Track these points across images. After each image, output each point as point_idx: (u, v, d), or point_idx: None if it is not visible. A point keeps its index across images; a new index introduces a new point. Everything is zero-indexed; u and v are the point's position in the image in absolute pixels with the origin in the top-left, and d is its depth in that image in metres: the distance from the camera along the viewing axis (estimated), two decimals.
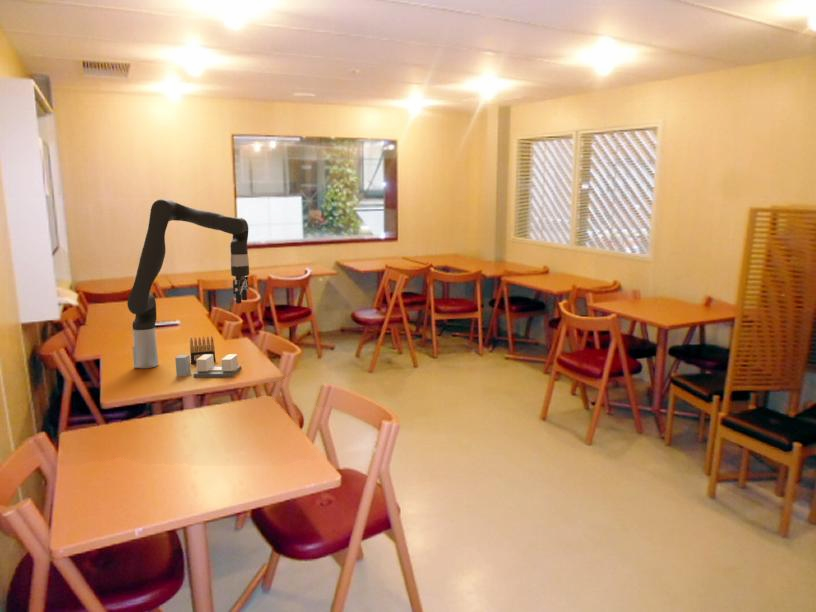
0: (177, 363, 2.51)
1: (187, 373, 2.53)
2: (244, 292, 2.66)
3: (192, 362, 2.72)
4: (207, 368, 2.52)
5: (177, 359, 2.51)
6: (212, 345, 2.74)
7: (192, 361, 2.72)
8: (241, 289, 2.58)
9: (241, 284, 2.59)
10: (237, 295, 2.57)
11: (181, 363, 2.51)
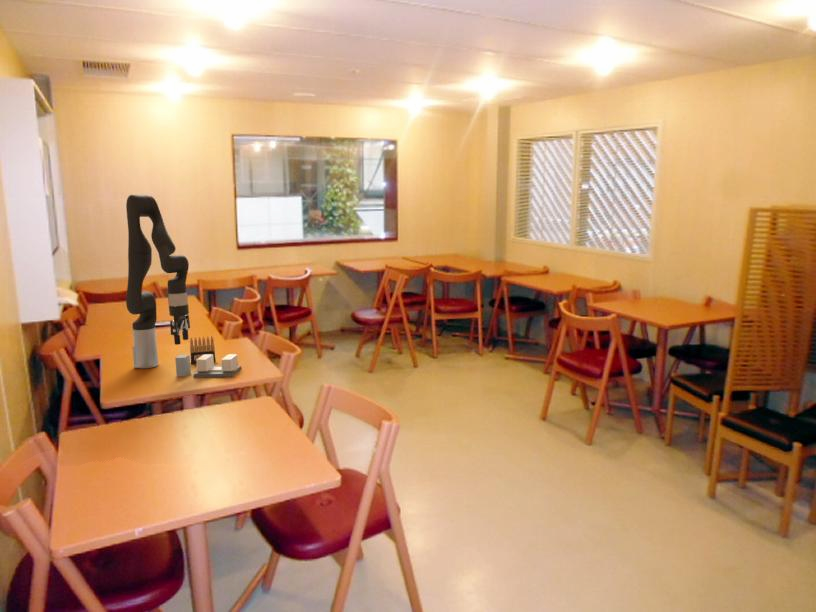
0: (177, 363, 2.51)
1: (187, 373, 2.53)
2: (185, 331, 2.55)
3: (192, 362, 2.72)
4: (207, 368, 2.52)
5: (177, 359, 2.51)
6: (212, 345, 2.74)
7: (192, 361, 2.72)
8: (180, 329, 2.47)
9: (180, 324, 2.48)
10: (175, 336, 2.46)
11: (181, 363, 2.51)
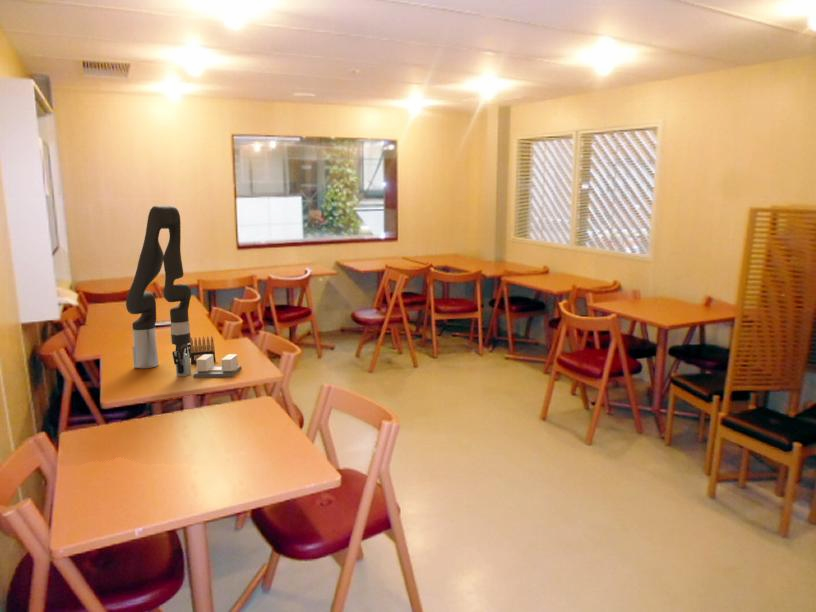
0: None
1: (187, 373, 2.53)
2: None
3: (192, 362, 2.72)
4: (207, 368, 2.52)
5: None
6: (212, 345, 2.74)
7: (192, 361, 2.72)
8: (182, 359, 2.50)
9: (182, 353, 2.50)
10: (179, 365, 2.50)
11: None
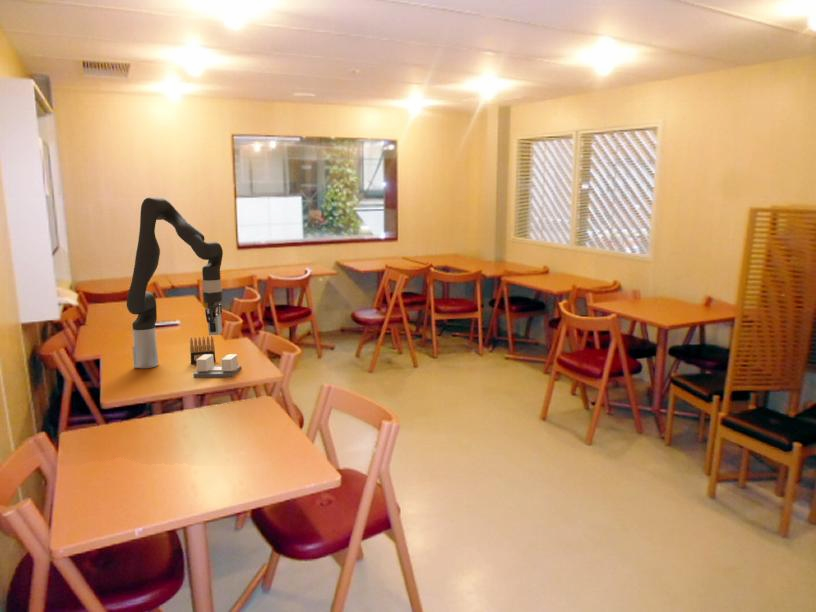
0: None
1: (219, 332, 2.52)
2: None
3: (192, 362, 2.72)
4: (207, 368, 2.52)
5: None
6: (212, 345, 2.74)
7: (192, 361, 2.72)
8: (215, 317, 2.49)
9: (214, 311, 2.49)
10: (211, 324, 2.48)
11: None
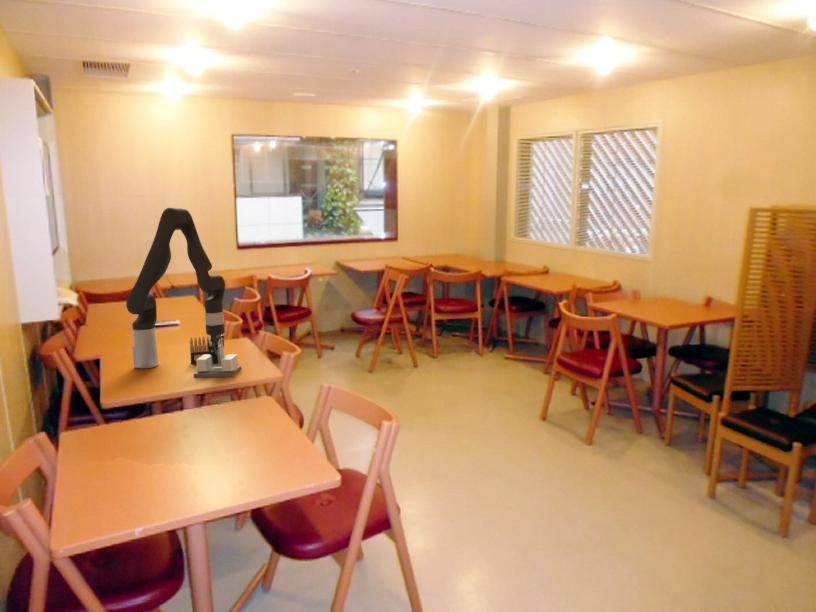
0: None
1: None
2: None
3: (192, 362, 2.72)
4: (207, 368, 2.52)
5: None
6: None
7: (192, 361, 2.72)
8: (217, 349, 2.51)
9: (217, 344, 2.51)
10: (213, 356, 2.51)
11: None
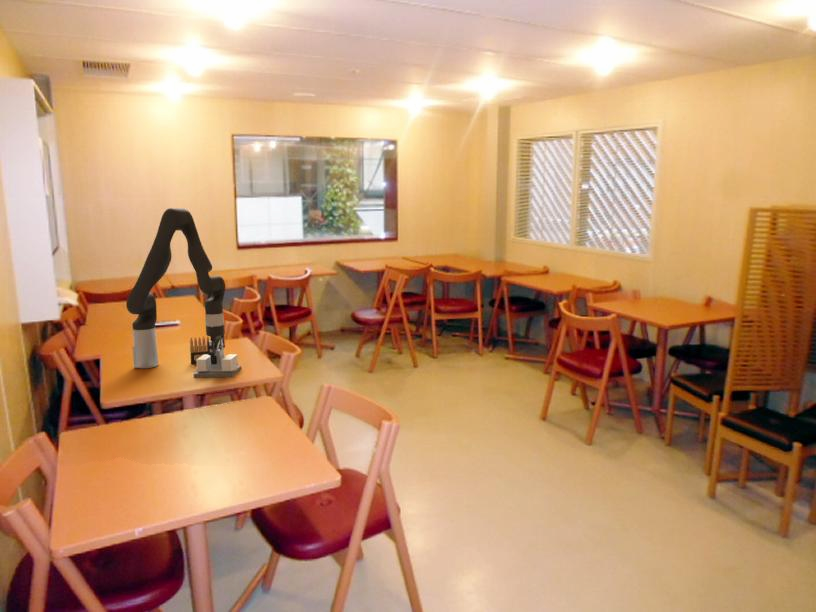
0: None
1: (221, 367, 2.55)
2: None
3: (192, 362, 2.72)
4: (207, 368, 2.52)
5: None
6: None
7: (192, 361, 2.72)
8: (216, 350, 2.50)
9: (216, 344, 2.51)
10: (212, 356, 2.49)
11: None
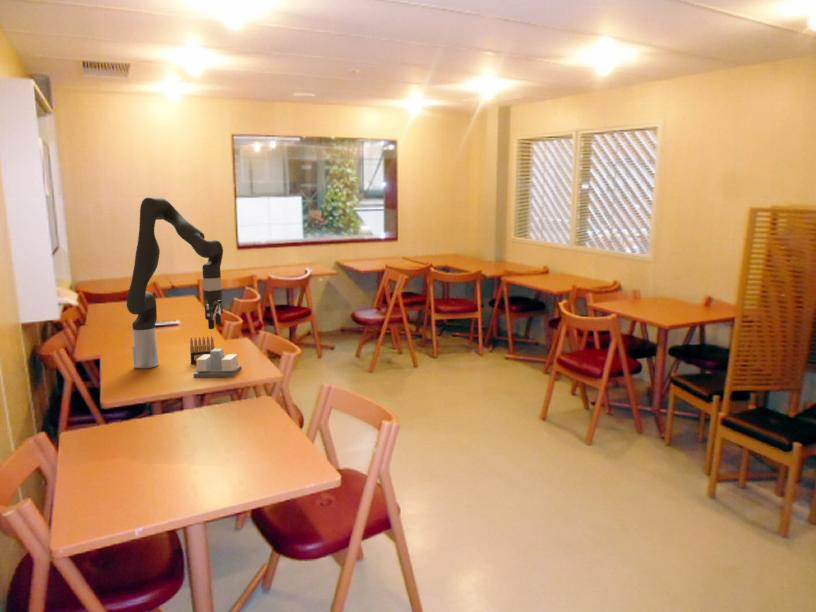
0: (212, 357, 2.52)
1: (221, 367, 2.55)
2: (218, 316, 2.56)
3: (192, 362, 2.72)
4: (207, 368, 2.52)
5: (212, 353, 2.52)
6: (212, 345, 2.74)
7: (192, 361, 2.72)
8: (214, 314, 2.48)
9: (214, 309, 2.49)
10: (209, 320, 2.47)
11: (216, 356, 2.52)
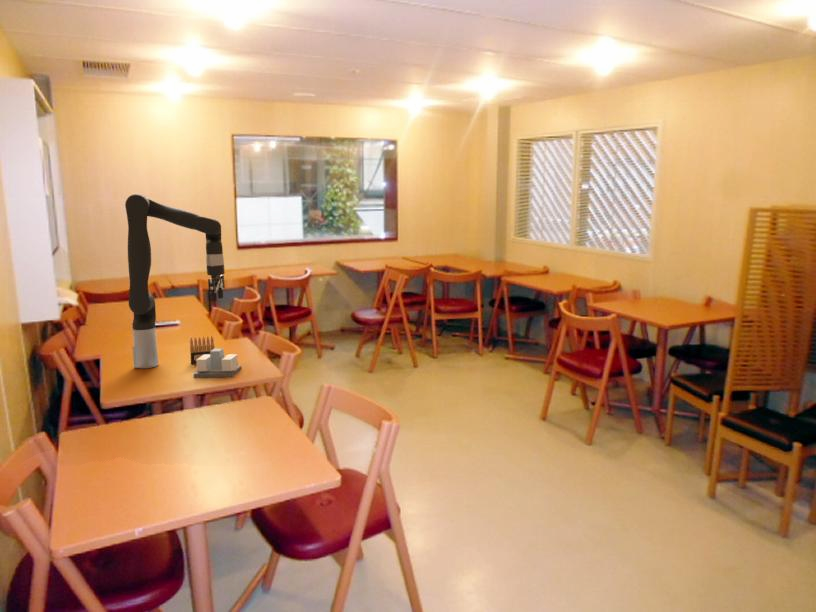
0: (212, 357, 2.52)
1: (221, 367, 2.55)
2: (220, 290, 2.77)
3: (192, 362, 2.72)
4: (207, 368, 2.52)
5: (212, 353, 2.52)
6: (212, 345, 2.74)
7: (192, 361, 2.72)
8: (216, 287, 2.68)
9: (216, 283, 2.69)
10: (212, 293, 2.67)
11: (216, 356, 2.52)
